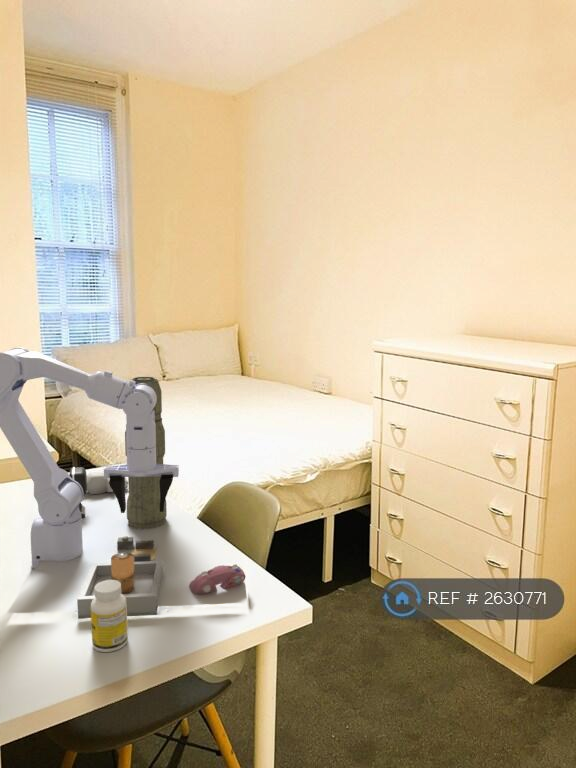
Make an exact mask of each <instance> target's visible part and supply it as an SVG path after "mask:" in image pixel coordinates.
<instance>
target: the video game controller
mask: <svg viewBox="0 0 576 768" xmlns="http://www.w3.org/2000/svg"><path fill="white" fill-rule="evenodd" d="M245 580H246V574H245V572H244V570H243V569H242V568H241V567H240V566H239V565H238V564H233V565H217V566H214V567H213V568H210V569H209V570H207V571H202V572H201V573H199V574H198V575H197V576H196V577H194V578H193V580H191V582H189V586H188V588H189V590H190V591H191V592H192V593H194V594H196V595H201V594H202V595H204V594H207V593H210V592H216V591H218V588H217V585H219V586H220V587H221V588H222V589H224V590H225V589H228V588H231V587H233V588H234V587H236V586H239V585H241V584H243V582H244V581H245Z"/></svg>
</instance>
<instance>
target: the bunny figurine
mask: <svg viewBox="0 0 576 768" xmlns="http://www.w3.org/2000/svg"><path fill="white" fill-rule="evenodd" d="M86 475H87V492H88V493H90V495H102V494H104V493H114V492H113V490H112V488H111V487H110V485H109V481H110V478H105V479H104V472H101V471H90V472H89V473H88V474H86ZM127 479H128V478H127V477H125V488H129V484H128V480H127Z"/></svg>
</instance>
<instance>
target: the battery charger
mask: <svg viewBox="0 0 576 768" xmlns="http://www.w3.org/2000/svg"><path fill="white" fill-rule="evenodd" d="M68 474H69V476H70V477H71V478H72V479H73V480H75V481H76V482H78V483H79V484H80V485H81V487H82V489H83V492H84V495H86V493H87V492H88V491H87V475H88V474H87V470H86V468H85V467H83V466H82V467H81V466H79V467H75V466H73V467H70V469H69V473H68ZM79 510H80V512H81V519H83V518H85V516H86V507H85V506H84V505H83V504H82V502H81V503H80V504H79Z"/></svg>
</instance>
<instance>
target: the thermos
mask: <svg viewBox="0 0 576 768" xmlns="http://www.w3.org/2000/svg"><path fill="white" fill-rule="evenodd" d="M131 380H133V381H135V382H136V383H135V385H137V384H141V383H144V384H146V385H148V386H150V387H151V388H152V389H153V390H154V391H155V393H156V396H157V402H156V405H155V407H154V408H153V410H154V414H155V424H156V464H164V457H165V455H166V430H165V427H164V424H163V418H162V413H163V409H162V408H163V407H162V406H163V403H162V398H163V397H162V388H161V386H160V382H159V380H158V379H156V377H153V376H138V377H133V378H132V379H130V380H129V382H130V381H131ZM124 444H125V445H124V446H125V447H124V449H125V456H126V458H127V449H126V430H125V432H124ZM160 478H161V476H147V477H127V479H128V480H127V481H128V496H127V500H126V519H127V523H128V525H129V527H131V528H134V529H139V530H141V529H142V530H145V529H146V530H149V529H150V530H151V529H154V528H158V527H161V526H162V525H164V524H165V522H166V519H167V514H168V513H167V512H168V511H167V498H166V499H165V503H164V511H163V512H160V482H159V481H160Z"/></svg>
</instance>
